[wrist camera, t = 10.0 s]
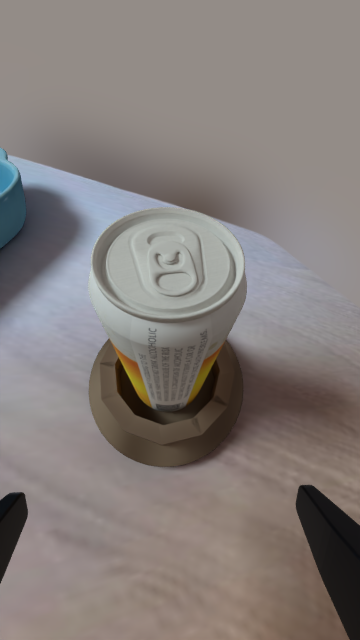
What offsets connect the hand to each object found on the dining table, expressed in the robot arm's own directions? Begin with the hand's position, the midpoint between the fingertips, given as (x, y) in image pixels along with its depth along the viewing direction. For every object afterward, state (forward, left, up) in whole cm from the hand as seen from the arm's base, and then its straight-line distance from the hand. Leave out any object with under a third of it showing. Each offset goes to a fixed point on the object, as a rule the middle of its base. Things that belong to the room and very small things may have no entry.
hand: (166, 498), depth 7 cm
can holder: (+2, -7, -12) cm, 14 cm away
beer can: (+2, -7, -11) cm, 14 cm away
